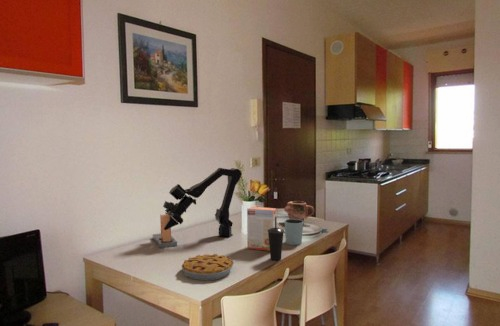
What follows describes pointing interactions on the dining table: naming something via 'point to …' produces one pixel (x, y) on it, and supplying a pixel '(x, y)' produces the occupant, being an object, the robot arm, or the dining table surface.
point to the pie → (207, 267)
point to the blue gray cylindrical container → (293, 231)
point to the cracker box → (259, 227)
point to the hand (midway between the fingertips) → (163, 227)
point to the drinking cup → (275, 242)
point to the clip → (164, 233)
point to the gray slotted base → (164, 244)
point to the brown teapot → (298, 210)
